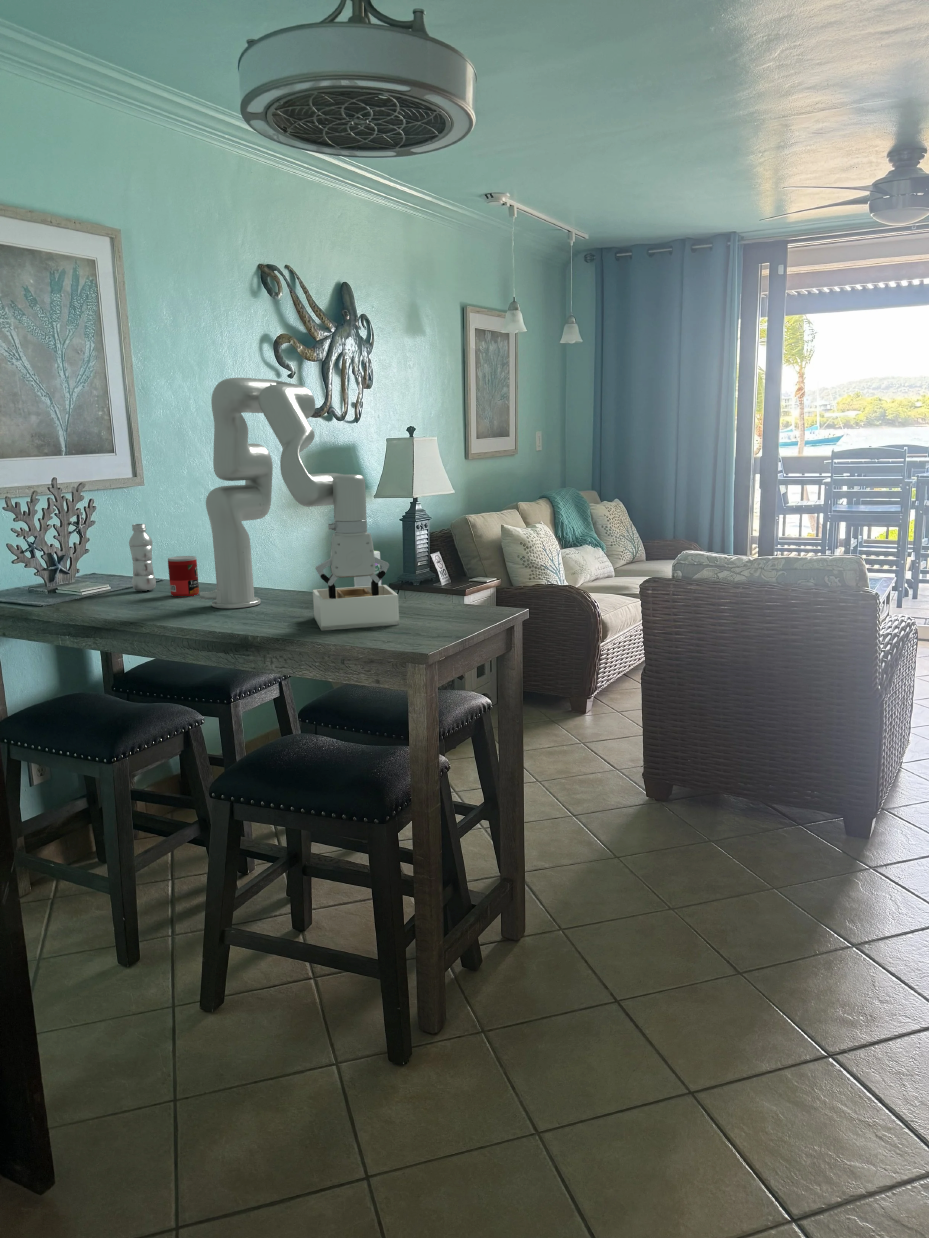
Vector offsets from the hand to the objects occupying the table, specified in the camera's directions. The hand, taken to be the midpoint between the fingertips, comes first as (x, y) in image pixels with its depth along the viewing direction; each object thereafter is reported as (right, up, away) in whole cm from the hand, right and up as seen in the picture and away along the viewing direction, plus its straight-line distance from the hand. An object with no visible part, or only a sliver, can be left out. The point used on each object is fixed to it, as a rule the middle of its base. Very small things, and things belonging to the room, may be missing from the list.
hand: (354, 600), depth 210 cm
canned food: (-54, +2, +46) cm, 71 cm away
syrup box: (+2, -2, +19) cm, 19 cm away
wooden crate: (0, -4, +1) cm, 4 cm away
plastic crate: (0, -5, +1) cm, 5 cm away
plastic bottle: (-69, +4, +55) cm, 89 cm away
